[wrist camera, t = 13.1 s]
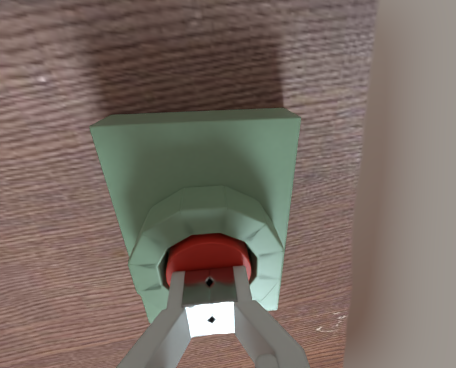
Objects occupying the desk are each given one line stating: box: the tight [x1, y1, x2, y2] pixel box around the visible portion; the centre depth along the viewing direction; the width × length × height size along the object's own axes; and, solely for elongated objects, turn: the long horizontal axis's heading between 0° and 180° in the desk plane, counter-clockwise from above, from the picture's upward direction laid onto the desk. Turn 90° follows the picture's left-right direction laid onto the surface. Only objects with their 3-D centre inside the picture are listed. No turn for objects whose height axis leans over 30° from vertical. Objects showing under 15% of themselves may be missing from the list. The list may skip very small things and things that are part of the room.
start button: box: [166, 233, 251, 287], centre depth 10 cm, size 4×4×2 cm
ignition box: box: [90, 108, 301, 323], centre depth 12 cm, size 12×8×4 cm, turn 1°
